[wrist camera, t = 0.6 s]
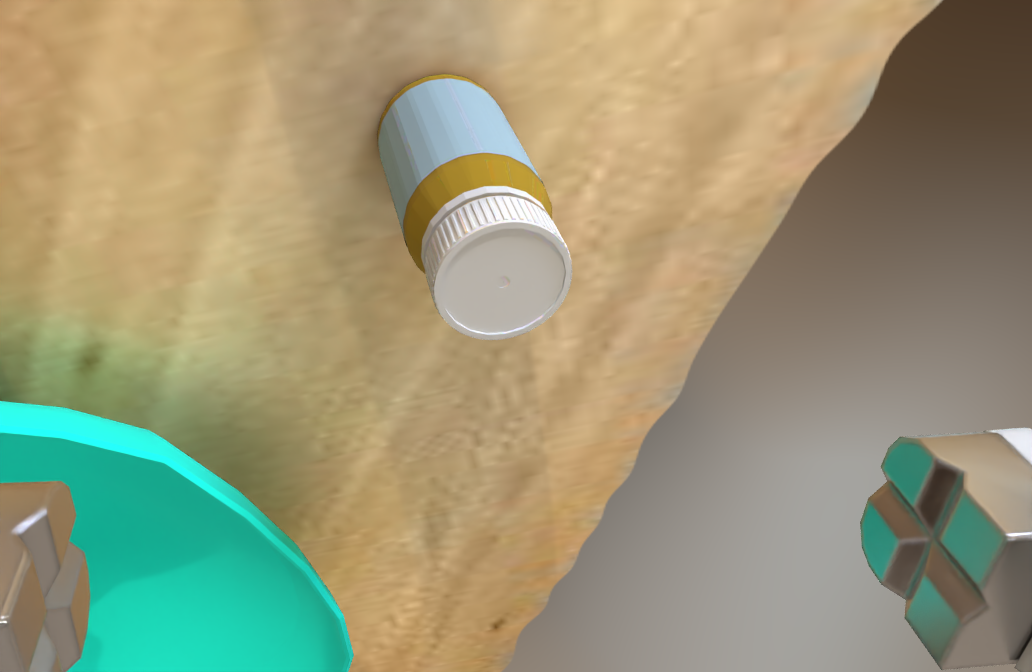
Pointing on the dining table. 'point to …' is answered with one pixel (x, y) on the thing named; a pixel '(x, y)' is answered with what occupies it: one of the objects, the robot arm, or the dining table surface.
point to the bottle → (472, 209)
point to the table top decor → (173, 554)
